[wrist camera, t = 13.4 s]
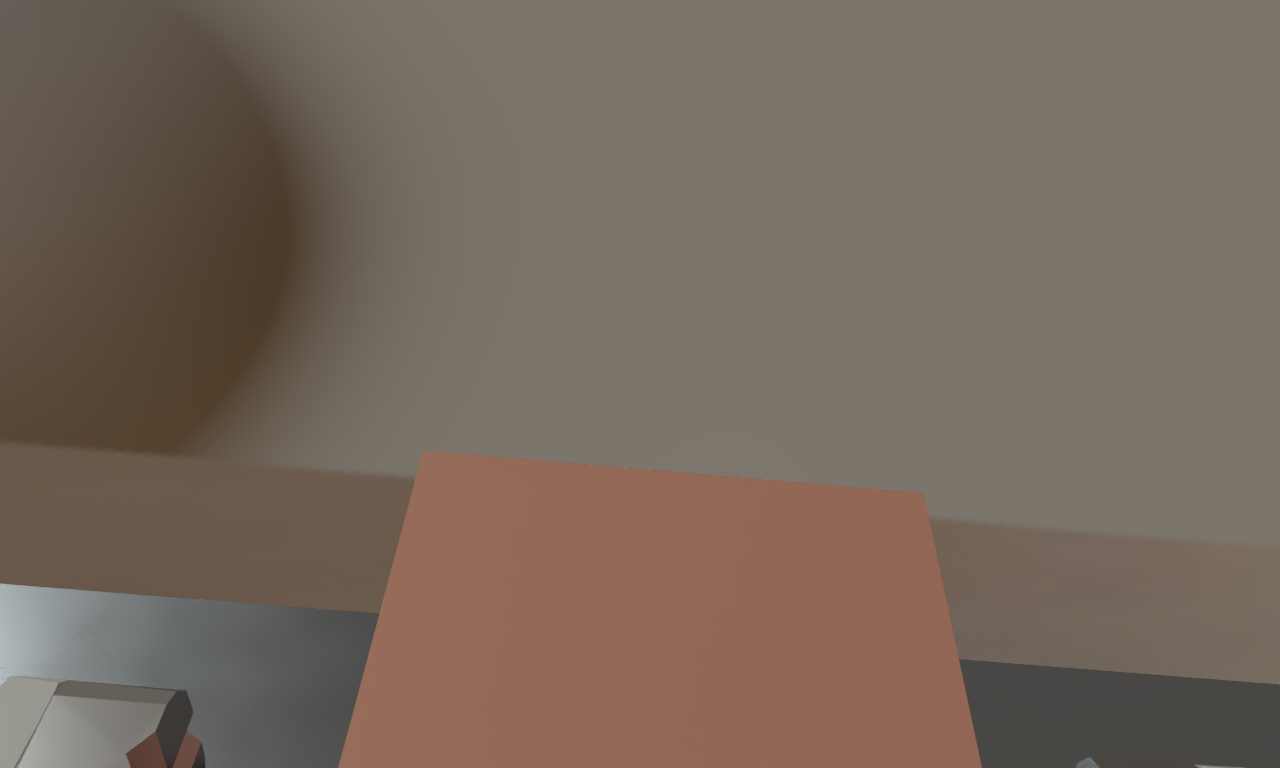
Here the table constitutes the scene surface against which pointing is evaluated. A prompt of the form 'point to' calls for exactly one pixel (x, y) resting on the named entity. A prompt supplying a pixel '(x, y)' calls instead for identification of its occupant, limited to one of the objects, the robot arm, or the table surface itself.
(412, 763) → the square peg
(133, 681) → the block with square hole
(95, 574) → the table surface
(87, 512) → the table surface
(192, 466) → the table surface
